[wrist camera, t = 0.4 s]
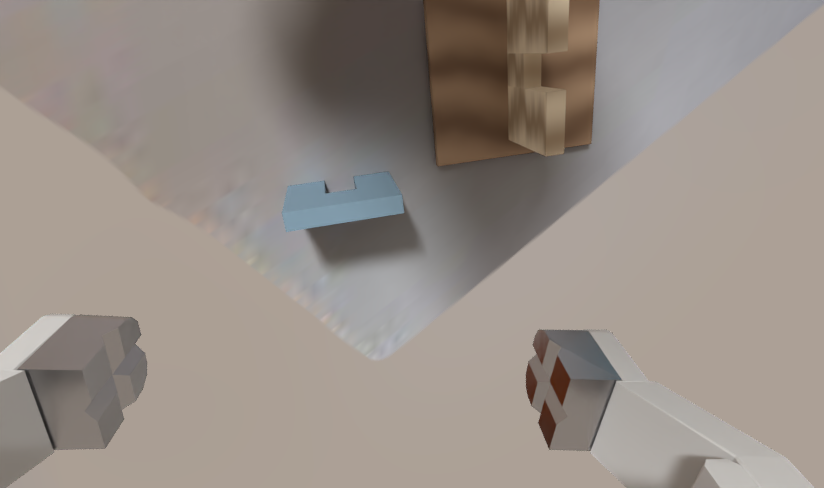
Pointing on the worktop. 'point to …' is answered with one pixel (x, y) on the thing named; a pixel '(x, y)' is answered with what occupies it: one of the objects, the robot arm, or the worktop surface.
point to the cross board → (486, 77)
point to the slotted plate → (341, 202)
